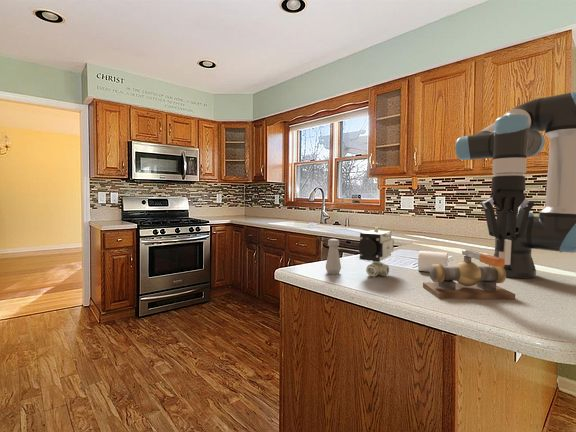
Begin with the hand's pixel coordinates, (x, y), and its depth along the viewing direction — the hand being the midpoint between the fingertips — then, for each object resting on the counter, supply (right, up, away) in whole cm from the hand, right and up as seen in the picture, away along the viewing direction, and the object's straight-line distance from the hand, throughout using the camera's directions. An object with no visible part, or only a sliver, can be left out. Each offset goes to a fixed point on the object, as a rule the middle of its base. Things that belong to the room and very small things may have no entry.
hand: (504, 263), depth 92 cm
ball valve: (-25, -9, +35) cm, 44 cm away
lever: (-4, 0, +5) cm, 6 cm away
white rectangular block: (-1, -9, +43) cm, 44 cm away
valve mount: (-3, -11, +13) cm, 17 cm away
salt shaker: (-41, -9, +38) cm, 56 cm away
